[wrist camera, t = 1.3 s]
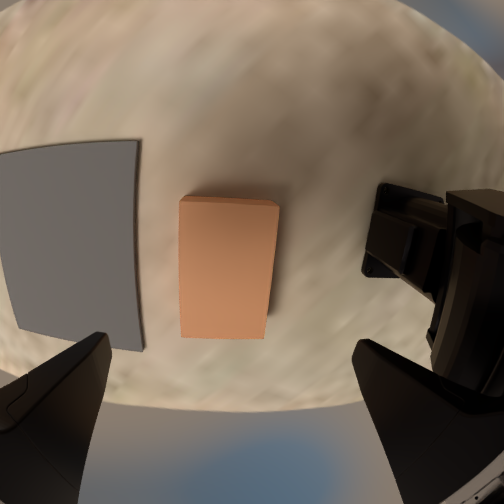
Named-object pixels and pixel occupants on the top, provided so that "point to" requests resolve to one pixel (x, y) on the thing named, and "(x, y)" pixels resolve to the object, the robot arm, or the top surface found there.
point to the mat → (72, 240)
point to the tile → (225, 266)
